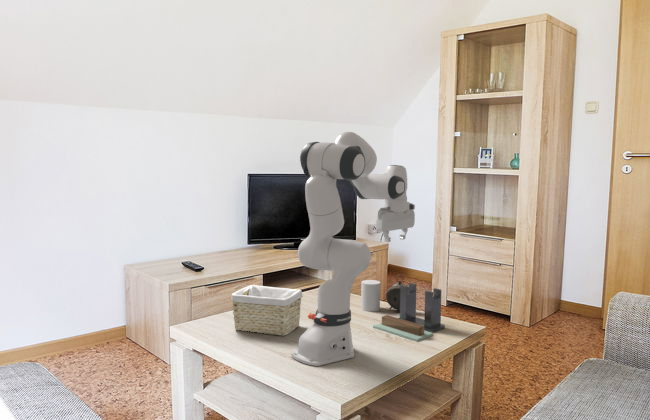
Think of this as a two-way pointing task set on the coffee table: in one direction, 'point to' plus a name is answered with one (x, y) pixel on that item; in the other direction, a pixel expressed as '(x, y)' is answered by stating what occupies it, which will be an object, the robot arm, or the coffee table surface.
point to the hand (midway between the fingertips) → (395, 240)
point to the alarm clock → (394, 295)
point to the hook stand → (431, 308)
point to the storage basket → (266, 309)
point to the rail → (403, 325)
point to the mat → (402, 332)
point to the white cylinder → (370, 295)
